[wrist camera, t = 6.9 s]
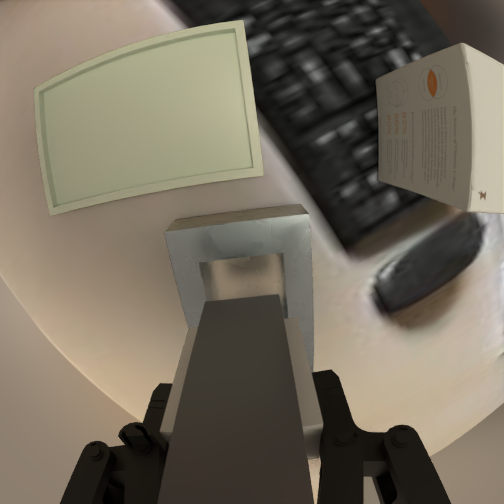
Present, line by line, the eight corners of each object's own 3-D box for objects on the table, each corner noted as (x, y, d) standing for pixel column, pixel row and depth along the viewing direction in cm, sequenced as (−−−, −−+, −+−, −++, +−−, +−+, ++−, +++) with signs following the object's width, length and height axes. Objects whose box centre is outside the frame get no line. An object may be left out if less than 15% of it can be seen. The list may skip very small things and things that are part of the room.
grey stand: (175, 219, 20) (61, 356, 6) (300, 204, 20) (400, 331, 6) (223, 404, 27) (213, 529, 13) (307, 396, 27) (330, 521, 13)
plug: (205, 301, 15) (143, 586, 2) (278, 293, 15) (325, 594, 2) (218, 356, 17) (193, 589, 3) (283, 350, 16) (314, 588, 3)
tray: (42, 89, 16) (34, 88, 14) (243, 26, 15) (243, 20, 14) (58, 212, 20) (50, 216, 18) (263, 174, 19) (264, 175, 18)
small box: (432, 185, 19) (528, 220, 9) (375, 181, 19) (468, 217, 9) (432, 90, 16) (528, 77, 6) (373, 77, 16) (463, 39, 6)
